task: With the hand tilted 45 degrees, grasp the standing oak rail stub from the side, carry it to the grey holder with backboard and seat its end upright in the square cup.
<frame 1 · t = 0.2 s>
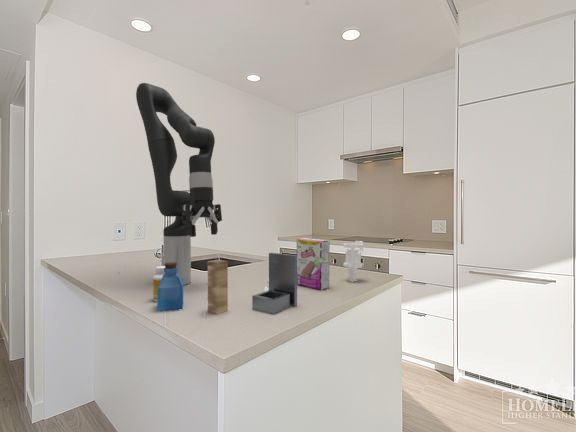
hand: (203, 235, 106), 18 cm above the worktop, tool pointing down, fingers open, 8 cm apart
white upright piece: (352, 281, 118), on the worktop
grey holder with backboard: (271, 308, 86), on the worktop
candy bar box: (312, 287, 110), on the worktop
supplement bottle: (163, 300, 94), on the worktop
hook: (275, 291, 104), on the worktop
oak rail: (217, 311, 83), on the worktop
perfume bottle: (170, 307, 87), on the worktop
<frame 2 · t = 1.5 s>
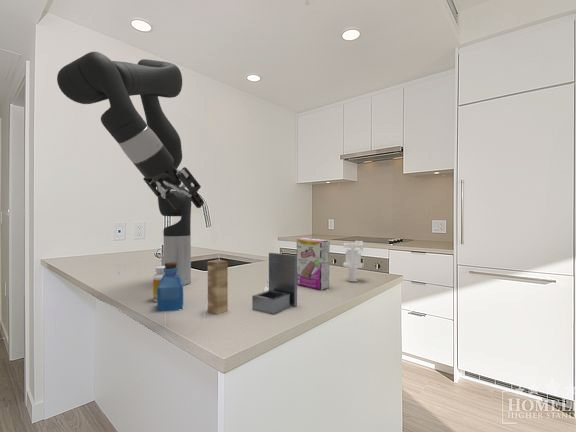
hand: (189, 206, 78), 27 cm above the worktop, tool tilted 45°, fingers open, 8 cm apart
nothing on the worktop moved.
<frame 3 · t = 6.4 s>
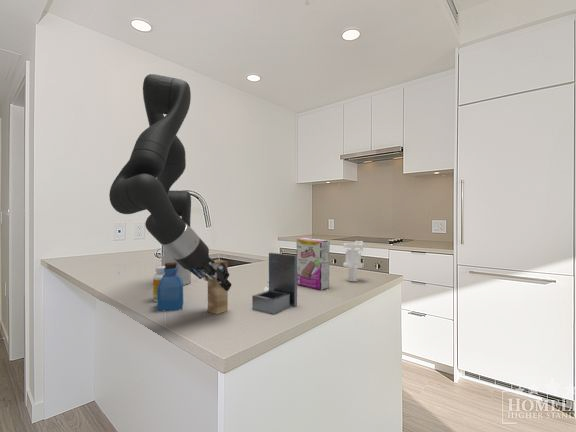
hand: (223, 286, 85), 6 cm above the worktop, tool tilted 45°, fingers closed on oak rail, 3 cm apart
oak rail: (217, 311, 83), on the worktop, touching gripper
everything else where it was.
when the fingers open (8 cm above the worktop, at t = 11.5 s): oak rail stays where it is, resting on grey holder with backboard.
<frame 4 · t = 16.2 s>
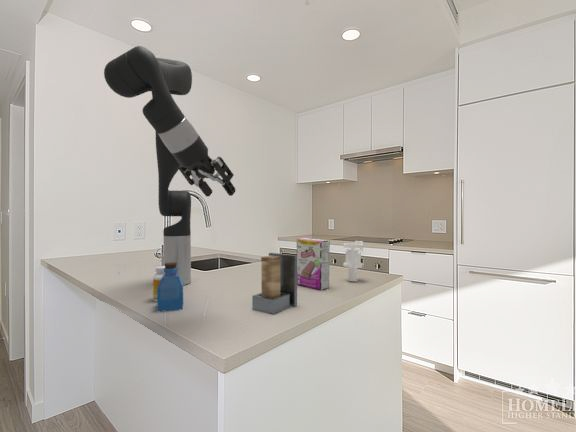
hand: (221, 193, 82), 31 cm above the worktop, tool tilted 45°, fingers open, 8 cm apart
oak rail: (271, 305, 86), point 1 cm above the worktop, touching grey holder with backboard
everything else where it was.
at the end: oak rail 0.1 cm off-centre on the grey holder with backboard, point 0.8 cm above the grey holder with backboard's base; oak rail tilted 0°; the gripper is holding nothing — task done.
